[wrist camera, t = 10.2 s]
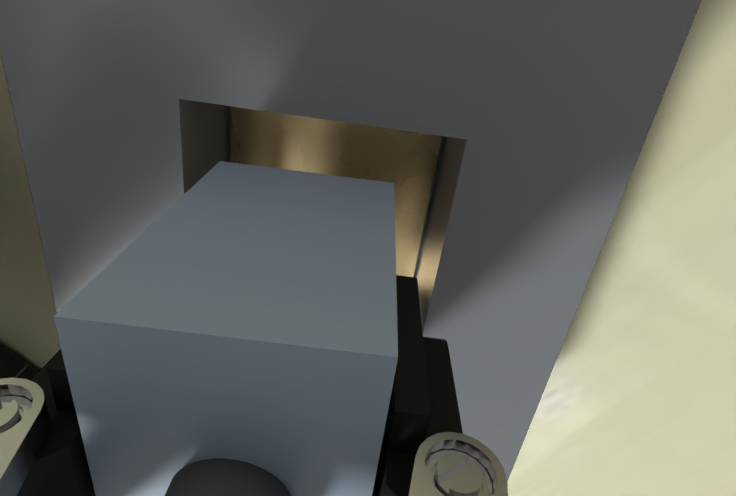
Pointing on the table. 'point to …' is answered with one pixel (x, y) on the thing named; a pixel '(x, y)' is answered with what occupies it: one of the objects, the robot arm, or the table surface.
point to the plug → (241, 341)
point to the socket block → (361, 143)
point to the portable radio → (14, 366)
